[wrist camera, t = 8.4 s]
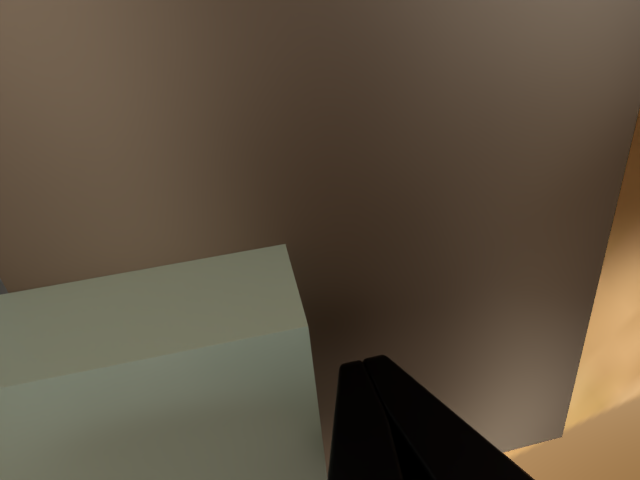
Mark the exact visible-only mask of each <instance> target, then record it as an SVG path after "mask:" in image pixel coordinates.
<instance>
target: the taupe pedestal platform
mask: <svg viewBox="0 0 640 480" xmlns="http://www.w3.org/2000/svg"><path fill="white" fill-rule="evenodd" d="M639 108H640V0H0V279H1V280H2V282H3V284H4V286H5V287H6V289H7V291H8V293H13V292H18V291H24V290H29V289H35V288H41V287H46V286H52V285H57V284H63V283H69V282H74V281H80V280H85V279H91V278H97V277H102V276H108V275H113V274H119V273H125V272H130V271H136V270H142V269H147V268H153V267H158V266H164V265H170V264H175V263H181V262H186V261H192V260H198V259H203V258H209V257H214V256H220V255H226V254H231V253H237V252H242V251H248V250H254V249H259V248H265V247H270V246H276V245H282V244H285V245H286V248H287V252H288V255H289V259H290V263H291V266H292V270H293V273H294V277H295V280H296V284H297V288H298V291H299V295H300V298H301V302H302V306H303V309H304V313H305V316H306V320H307V324H308V328H309V336H310V344H311V352H312V360H313V368H314V376H315V384H316V392H317V400H318V408H319V416H320V424H321V431H322V439H323V447H324V455H325V463H326V471H327V478H328V469H329V459H330V450H331V440H332V431H333V421H334V412H335V402H336V393H337V383H338V374H339V367H340V365H341V364H344V363H348V362H352V361H357V360H361V361H363V360H364V359H365V358H369V357H374V356H378V355H386V356H387V357H389V358H390V359H391V360H392V361H393V362H395V363H396V364H397V365H398V366H399V367H401V368H402V369H403V370H404V371H405V372H407V373H408V374H409V375H410V376H411V377H413V378H414V379H415V380H416V381H417V382H419V383H420V384H421V385H422V386H423V387H425V388H426V389H427V390H428V391H429V392H431V393H432V394H433V395H434V396H435V397H437V398H438V399H439V400H440V401H441V402H442V403H444V404H445V405H446V406H447V407H448V408H450V409H451V410H452V411H453V412H454V413H456V414H457V415H458V416H459V417H460V418H462V419H463V420H464V421H465V422H466V423H468V424H469V425H470V426H471V427H472V428H474V429H475V430H476V431H477V432H478V433H480V434H481V435H482V436H483V437H484V438H486V439H487V440H488V441H489V442H490V443H492V444H493V445H494V446H495V447H496V448H497V449H499V450H500V451H501V452H502V453H503V452H506V451H510V450H514V449H518V448H522V447H525V446H529V445H533V444H537V443H541V442H545V441H548V440H552V439H556V438H560V437H562V435H563V430H564V426H565V422H566V418H567V413H568V409H569V405H570V401H571V396H572V392H573V388H574V384H575V379H576V375H577V371H578V367H579V362H580V358H581V354H582V350H583V346H584V341H585V337H586V333H587V329H588V324H589V320H590V316H591V312H592V307H593V303H594V299H595V295H596V290H597V286H598V282H599V278H600V273H601V269H602V265H603V261H604V257H605V252H606V248H607V244H608V240H609V235H610V231H611V227H612V223H613V218H614V214H615V210H616V206H617V201H618V197H619V193H620V189H621V184H622V180H623V176H624V172H625V168H626V163H627V159H628V155H629V151H630V146H631V142H632V138H633V134H634V129H635V125H636V121H637V117H638V112H639Z"/></svg>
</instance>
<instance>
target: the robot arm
mask: <svg viewBox="0 0 640 480" xmlns="http://www.w3.org/2000/svg"><path fill="white" fill-rule="evenodd" d="M327 480H535V479H533V478H532V477H531V476H530V475H529V474H527V473H526V472H525V471H524V470H523V469H521V468H520V467H519V466H518V465H516V464H515V463H514V462H513V461H512V460H511V459H509V458H508V457H507V456H506V455H505V454H503V453H502V452H501V451H500V450H499V449H497V448H496V447H495V446H494V445H493V444H492V443H490V442H489V441H488V440H487V439H486V438H484V437H483V436H482V435H481V434H480V433H478V432H477V431H476V430H475V429H474V428H472V427H471V426H470V425H469V424H468V423H466V422H465V421H464V420H463V419H462V418H460V417H459V416H458V415H457V414H456V413H454V412H453V411H452V410H451V409H450V408H448V407H447V406H446V405H445V404H444V403H442V402H441V401H440V400H439V399H438V398H437V397H435V396H434V395H433V394H432V393H431V392H429V391H428V390H427V389H426V388H425V387H423V386H422V385H421V384H420V383H419V382H417V381H416V380H415V379H414V378H413V377H411V376H410V375H409V374H408V373H407V372H405V371H404V370H403V369H402V368H401V367H399V366H398V365H397V364H396V363H395V362H393V361H392V360H391V359H390V358H389V357H387V356H386V355H378V356H374V357H369V358H365V359H364V360H363V361H361V360H357V361H352V362H348V363H344V364H341V365H340V367H339V374H338V383H337V393H336V402H335V412H334V421H333V431H332V440H331V450H330V459H329V469H328V478H327Z"/></svg>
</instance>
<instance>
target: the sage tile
mask: <svg viewBox="0 0 640 480" xmlns="http://www.w3.org/2000/svg"><path fill="white" fill-rule="evenodd" d="M0 480H327V471H326V463H325V455H324V447H323V439H322V431H321V424H320V416H319V408H318V400H317V392H316V384H315V376H314V368H313V360H312V352H311V344H310V336H309V328H308V324H307V320H306V316H305V313H304V309H303V306H302V302H301V298H300V295H299V291H298V288H297V284H296V280H295V277H294V273H293V270H292V266H291V263H290V259H289V255H288V252H287V248H286V245H285V244H282V245H276V246H270V247H265V248H259V249H254V250H248V251H242V252H237V253H231V254H226V255H220V256H214V257H209V258H203V259H198V260H192V261H186V262H181V263H175V264H170V265H164V266H158V267H153V268H147V269H142V270H136V271H130V272H125V273H119V274H113V275H108V276H102V277H97V278H91V279H85V280H80V281H74V282H69V283H63V284H57V285H52V286H46V287H41V288H35V289H29V290H24V291H18V292H13V293H7V294H1V295H0Z"/></svg>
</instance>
